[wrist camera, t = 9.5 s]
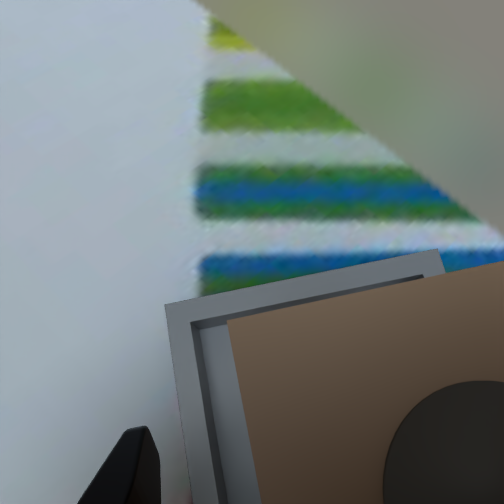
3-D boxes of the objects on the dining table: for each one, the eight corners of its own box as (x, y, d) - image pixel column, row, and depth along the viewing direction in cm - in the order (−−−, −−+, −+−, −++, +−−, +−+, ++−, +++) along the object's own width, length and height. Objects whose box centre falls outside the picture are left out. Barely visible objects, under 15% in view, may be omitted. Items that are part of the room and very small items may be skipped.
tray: (497, 534, 16) (546, 565, 13) (222, 595, 16) (212, 640, 13) (412, 269, 19) (437, 248, 16) (180, 317, 19) (164, 304, 16)
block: (406, 470, 16) (885, 752, 4) (281, 499, 16) (328, 889, 3) (370, 344, 17) (624, 228, 5) (255, 369, 17) (219, 315, 5)
